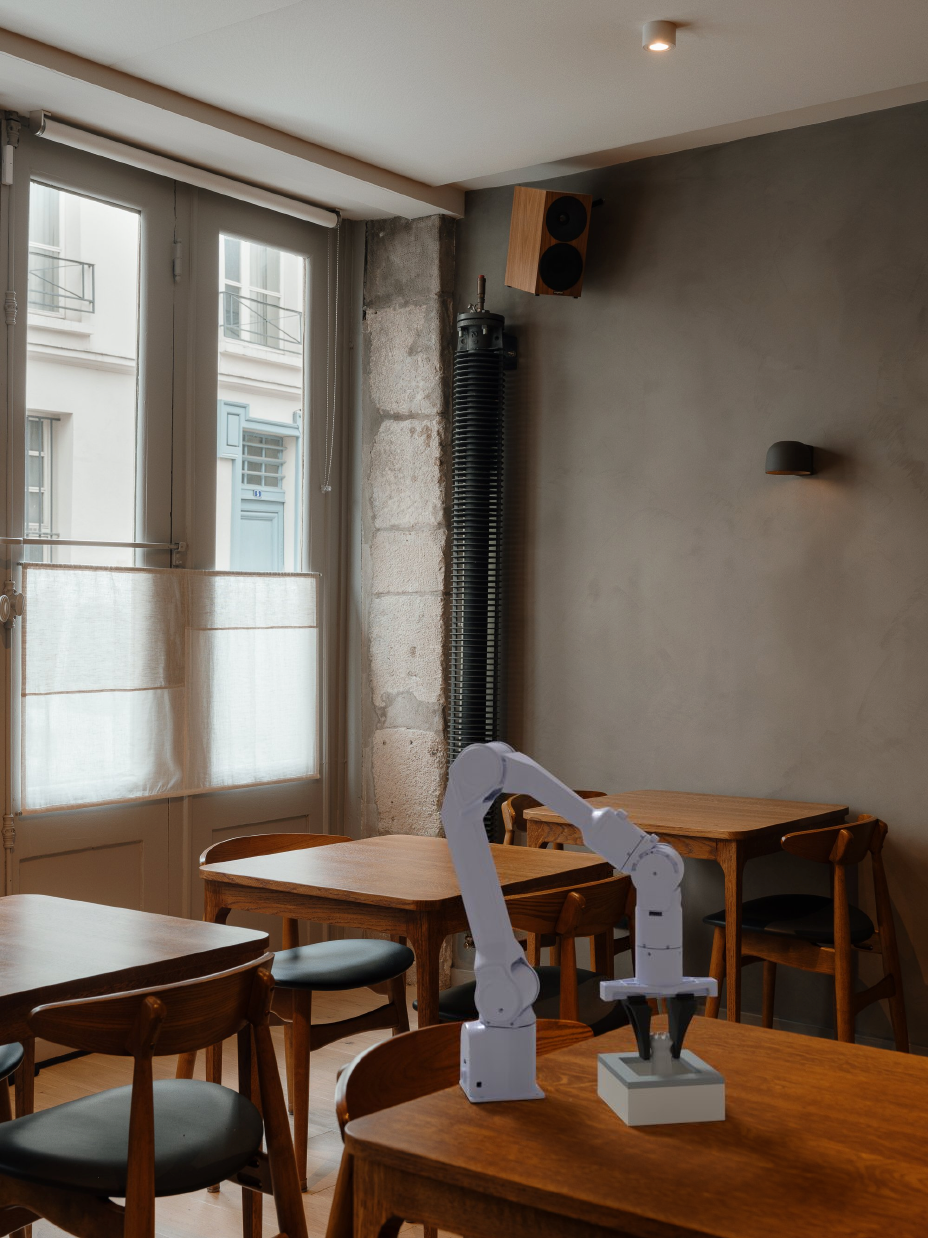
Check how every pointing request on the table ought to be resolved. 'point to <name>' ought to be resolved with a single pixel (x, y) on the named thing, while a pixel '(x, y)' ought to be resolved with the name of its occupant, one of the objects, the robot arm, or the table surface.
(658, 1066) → the rook chess piece
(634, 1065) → the piece box
